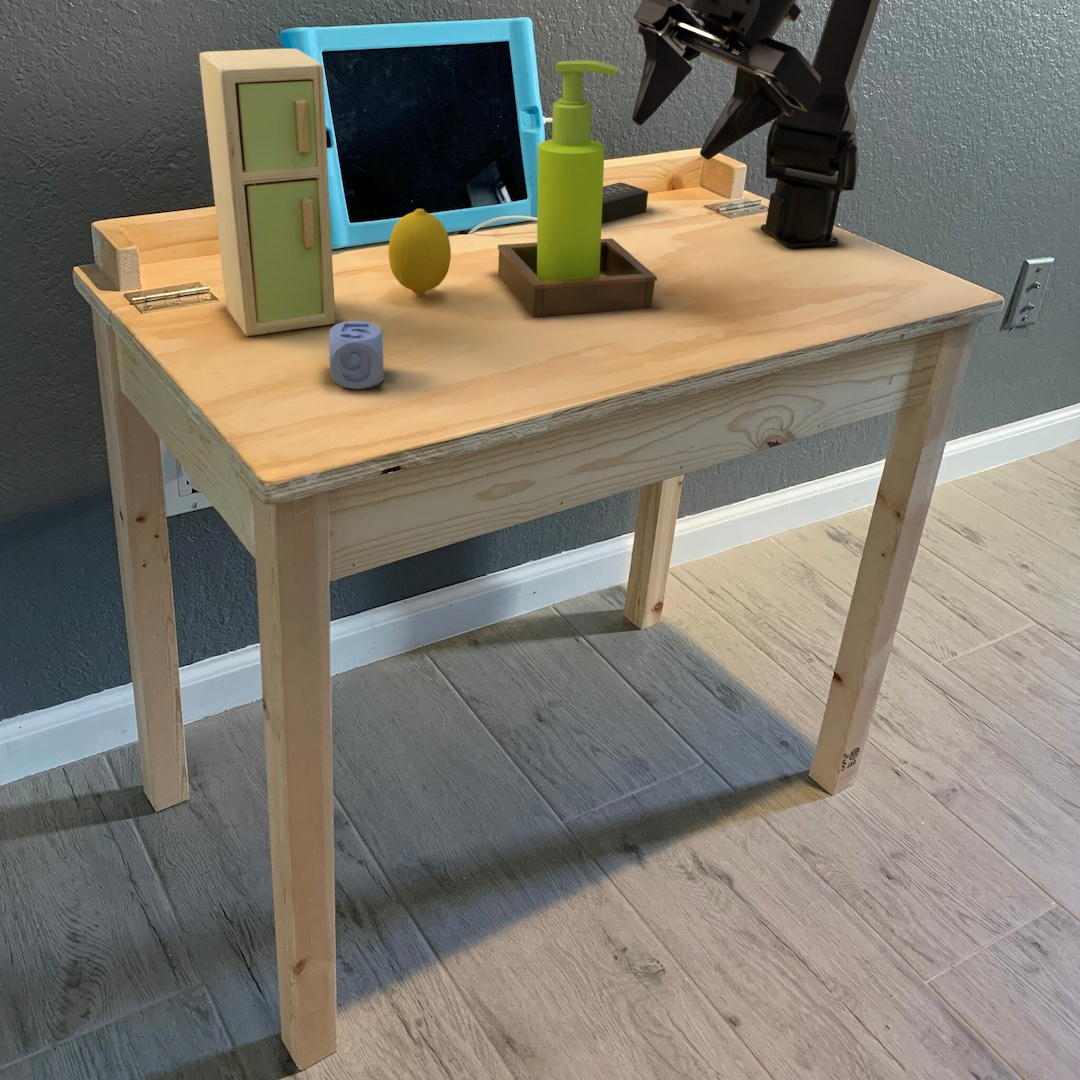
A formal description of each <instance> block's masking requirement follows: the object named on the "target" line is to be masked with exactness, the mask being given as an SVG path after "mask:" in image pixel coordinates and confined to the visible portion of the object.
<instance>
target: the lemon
mask: <svg viewBox="0 0 1080 1080" xmlns="http://www.w3.org/2000/svg"><path fill="white" fill-rule="evenodd" d="M447 231H448V230H447V229H446V228H445V226H444V224H443V222H441V220H439V218H437V217H436V216H434V215H433V214H432V213H431V214H430V213H429V212H426V210H425V209H424V208H415V210H414V211H412V212H410V213H407V214H406V215H404V216H402V217H401V218H399V220H398V221H397V222H396V223H395V225H394V227H393V228H392V231H391V233H390V238H389V243H388V261H389V262H388V263H389V267H390V270H391V272H392V275H393V276H394V279H396V281H397V282H398V283H399V284H400V285H401V286H402V287H404V288H405V289H407V290H410V291H412V292H413V294H415V295H416V296H417V297H423V296H424V295H425V294H426V293H428V291H431V290H433V289H435V288H436V287H438V286H439V285H441V284H442V282H443V281H444V280H445V278H446V277H447V275H448V272H449V269H450V264H451V260H452V259H451V257H452V251H451V249H452V248H451V242H450V238H449V234H448V232H447Z"/></svg>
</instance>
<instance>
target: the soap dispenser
mask: <svg viewBox="0 0 1080 1080" xmlns="http://www.w3.org/2000/svg"><path fill="white" fill-rule="evenodd" d="M554 67H555V68H554V72H555V73H562V97H560V98H558V99H557V101H554V102H553V103H552V124H551V125H552V128H551V129H552V130H551V139H547V140H544V141H541V142H539V143H538V144H537V206H536V207H537V208H536V209H537V211H536V212H537V213H536V214H537V216H536V217H537V218H536V219H537V220H536V221H537V225H536V226H537V227H536V229H537V230H536V232H537V233H536V241H537V242H536V243H537V276H538V278H539V279H540V280H541V281H546V280H561V279H576V278H590V277H601V276H600V275H601V271H600V251H601V239H602V198H603V186H604V172H605V171H604V170H605V168H604V167H605V145H604V144H603V143H602V142H599V141H596V140H593V139H591V134H592V103H591V102H589V101H588V100H587V99H585V97H584V98H583V80H584V79H583V75H584V72H585V73H599V74H604V75H607V76H611V77H614V76H615V75H616V74H617V73H618V72H619V71H620V70H621V67H619V66H617V65H614V64H611V63H607V62H605V61H599V60H590V59H589V60H587V59H586V60H585V59H580V60H579V59H577V60H574V59H573V60H560V61H558V62H557V63H556V64H555V65H554Z"/></svg>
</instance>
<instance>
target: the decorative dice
mask: <svg viewBox="0 0 1080 1080" xmlns="http://www.w3.org/2000/svg"><path fill="white" fill-rule="evenodd" d="M383 331H384V330H383V329H382V328H381V327H380V326H379V325H377V324H375V323H373V322H369V321H363V320H349V321H342V322H339V323H336V324H334V326H332V327H331V328H330V329H329V335H328V353H329V354H328V357H329V359H328V360H329V376H330V380H331V381H333V383H335V384H336V385H337V386H338V387H342V388H345V389H349V390H364V389H371V388H373V387H376V386H378V385H379V384H381V382H382V381H384V376H385V375H384V332H383Z"/></svg>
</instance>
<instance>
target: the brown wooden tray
mask: <svg viewBox="0 0 1080 1080" xmlns="http://www.w3.org/2000/svg"><path fill="white" fill-rule="evenodd" d="M497 250H498V266H497V267H498V268H497V276H498V277H499V278H500V279H501V280H502V282H503V283H504V284H505V285H506V286H507V288H508V289H509V290H510V291H511V292H512V293H513V294H514V296H515V297H516V298H517V299H518V301H520V303H521V304H522V305H523V306H524V307H525V309H526V310H527V311H528V312H529V313H530V314H531V316H533V317H535V318H536V317H549V316H551V317H552V316H562V315H575V314H588V313H589V314H590V313H600V312H614V311H625V310H626V311H627V310H638V309H639V310H641V309H650V308H651V309H652V307H653V300H654V293H655V284H656V282H657V280H658V277H657V276H656V275H655V273H653V272H652V271H651V270H650V269H648V268H647V266H645V265H644V264H642V262H640V261H639V260H638V259H637V258H636V257H635V256H634V255H632V254H631V253H630V252H629V251H627V249H625V248H624V247H623V245H621V244H619V243H618V242H617V241H616V240H615V239H614V238H613V237H612V238H611V237H609V238H601V251H600V272H605V273H606V274H607V275H608V276H607V275H606V276H600V277H590V278H576V279H561V280H546V281H541V280H540V279H539V278H538V276H537V242H524V243H508V244H507V243H506V244H498V245H497Z"/></svg>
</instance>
